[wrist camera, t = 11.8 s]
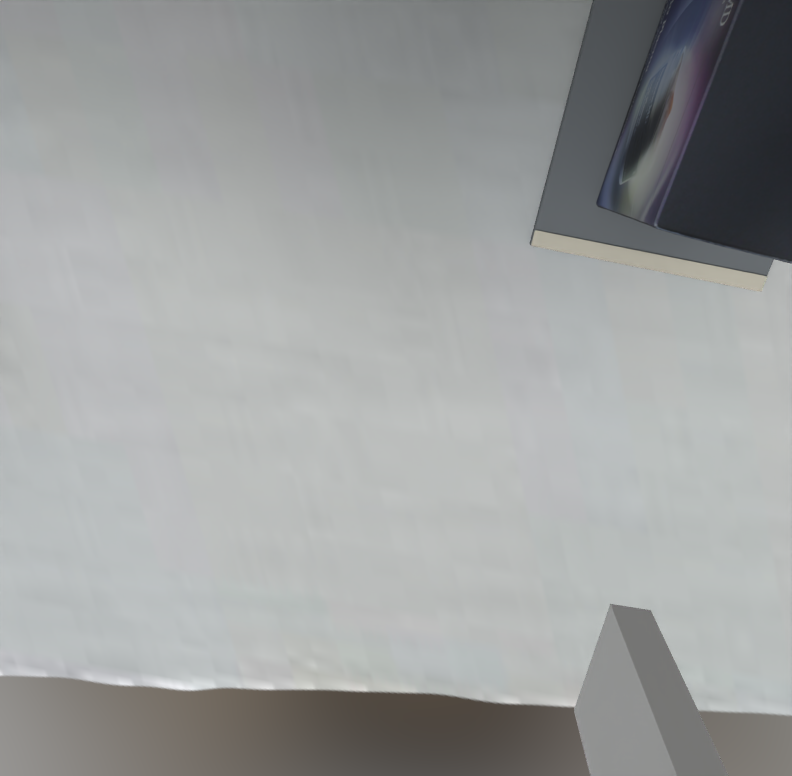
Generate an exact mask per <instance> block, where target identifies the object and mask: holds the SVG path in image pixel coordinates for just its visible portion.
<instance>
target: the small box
mask: <svg viewBox="0 0 792 776" xmlns="http://www.w3.org/2000/svg"><path fill="white" fill-rule="evenodd" d="M596 205H597V206H598V207H600V208H603V209H607V210H609V211H612V212H614V213H617V214H620V215H622V216H624V217H628V218H631V219H633V220H636V221H638V222H641V223H644V224H646V225H649V226H651V227H653V228H656V229H659V230H663V231H666V232H669V233H673V234H676V235H680V236H684V237H687V238H691V239H695V240H699V241H703V242H707V243H711V244H714V245H718V246H722V247H726V248H731V249H735V250H739V251H743V252H747V253H751V254H755V255H759V256H763V257H767V258H772V259H776V260H779V261H783V262H788V263H792V0H667V1H666V4H665V7H664V10H663V13H662V16H661V18H660V21H659V24H658V27H657V30H656V33H655V36H654V39H653V41H652V44H651V47H650V50H649V53H648V56H647V59H646V61H645V64H644V67H643V70H642V73H641V76H640V79H639V81H638V84H637V87H636V90H635V93H634V96H633V99H632V101H631V104H630V107H629V110H628V113H627V115H626V118H625V121H624V124H623V127H622V130H621V133H620V136H619V139H618V141H617V144H616V147H615V150H614V153H613V156H612V159H611V161H610V164H609V167H608V170H607V173H606V176H605V179H604V182H603V184H602V187H601V190H600V193H599V196H598V199H597V202H596Z"/></svg>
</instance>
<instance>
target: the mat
mask: <svg viewBox="0 0 792 776" xmlns="http://www.w3.org/2000/svg"><path fill="white" fill-rule="evenodd" d="M666 1H667V0H593V3H592V7H591V11H590V15H589V18H588V22H587V26H586V30H585V34H584V38H583V41H582V45H581V49H580V53H579V57H578V61H577V64H576V68H575V72H574V76H573V80H572V84H571V87H570V91H569V95H568V99H567V103H566V106H565V110H564V114H563V118H562V122H561V126H560V129H559V133H558V137H557V141H556V145H555V149H554V152H553V156H552V160H551V164H550V168H549V172H548V175H547V179H546V183H545V187H544V191H543V195H542V198H541V202H540V206H539V210H538V214H537V218H536V221H535V225H534V229H533V233H532V237H531V241H530V245H531V246H535V247H540V248H545V249H550V250H555V251H560V252H565V253H570V254H575V255H580V256H585V257H590V258H595V259H600V260H605V261H610V262H615V263H620V264H625V265H630V266H635V267H640V268H645V269H650V270H655V271H659V272H664V273H669V274H674V275H679V276H684V277H689V278H694V279H699V280H704V281H709V282H714V283H719V284H724V285H729V286H734V287H739V288H744V289H749V290H754V291H759V292H761V291H762V289H763V287H764V284H765V282H766V279H767V274H768V272H769V269H770V267H771V265H772V262H773V260H774V259H772V258H767V257H763V256H759V255H755V254H751V253H747V252H743V251H739V250H735V249H731V248H726V247H722V246H718V245H714V244H711V243H707V242H703V241H699V240H695V239H691V238H687V237H684V236H680V235H676V234H673V233H669V232H666V231H663V230H659V229H656V228H653V227H651V226H649V225H646V224H644V223H641V222H638V221H636V220H633V219H631V218H628V217H624V216H622V215H620V214H617V213H614V212H612V211H609V210H607V209H603V208H600V207H598V206H597V205H596V202H597V199H598V196H599V193H600V190H601V187H602V184H603V182H604V179H605V176H606V173H607V170H608V167H609V164H610V161H611V159H612V156H613V153H614V150H615V147H616V144H617V141H618V139H619V136H620V133H621V130H622V127H623V124H624V121H625V118H626V115H627V113H628V110H629V107H630V104H631V101H632V99H633V96H634V93H635V90H636V87H637V84H638V81H639V79H640V76H641V73H642V70H643V67H644V64H645V61H646V59H647V56H648V53H649V50H650V47H651V44H652V41H653V39H654V36H655V33H656V30H657V27H658V24H659V21H660V18H661V16H662V13H663V10H664V7H665V4H666Z"/></svg>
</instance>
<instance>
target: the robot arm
mask: <svg viewBox="0 0 792 776" xmlns="http://www.w3.org/2000/svg"><path fill="white" fill-rule="evenodd" d="M574 712H575V716H576V719H577V724H578V728H579V732H580V736H581V740H582V744H583V748H584V752H585V756H586V760H587V764H588V768H589V772H590V776H729V775H728V773H727V771H726V769H725V767H724V765H723V762H722V761H721V758H720V756H719V754H718V752H717V750H716V748H715V745H714V743H713V741H712V739H711V737H710V735H709V733H708V731H707V729H706V727H705V724H704V722H703V720H702V718H701V716H700V714H699V712H698V709H697V707H696V705H695V703H694V701H693V699H692V697H691V695H690V693H689V690H688V688H687V686H686V684H685V682H684V680H683V678H682V676H681V673H680V671H679V669H678V667H677V665H676V663H675V661H674V659H673V657H672V654H671V652H670V650H669V648H668V646H667V644H666V642H665V640H664V637H663V635H662V633H661V631H660V629H659V627H658V625H657V623H656V621H655V618H654V616H653V614H652V612H651V610H645V609H639V608H633V607H626V606H620V605H614V604H610V607H609V609H608V612H607V615H606V618H605V621H604V624H603V627H602V630H601V633H600V636H599V639H598V642H597V645H596V647H595V650H594V653H593V656H592V659H591V662H590V665H589V668H588V671H587V674H586V677H585V680H584V683H583V685H582V688H581V691H580V694H579V697H578V700H577V703H576V706H575V709H574Z"/></svg>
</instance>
